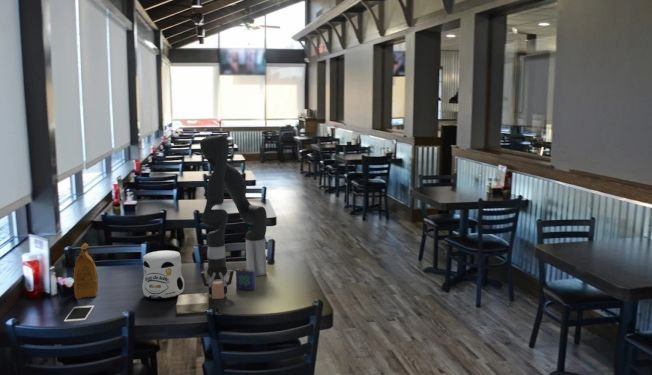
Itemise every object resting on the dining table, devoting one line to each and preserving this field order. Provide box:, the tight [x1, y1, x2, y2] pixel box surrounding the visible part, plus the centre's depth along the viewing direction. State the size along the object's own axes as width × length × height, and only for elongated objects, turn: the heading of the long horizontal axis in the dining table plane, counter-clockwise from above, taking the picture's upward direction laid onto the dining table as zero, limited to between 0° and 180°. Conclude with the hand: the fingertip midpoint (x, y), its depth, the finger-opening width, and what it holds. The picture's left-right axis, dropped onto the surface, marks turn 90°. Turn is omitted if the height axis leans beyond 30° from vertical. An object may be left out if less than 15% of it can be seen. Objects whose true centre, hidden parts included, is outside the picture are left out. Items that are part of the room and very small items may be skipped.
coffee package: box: [73, 242, 99, 300], centre depth 250 cm, size 10×12×22 cm
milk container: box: [141, 250, 185, 300], centre depth 249 cm, size 17×17×18 cm
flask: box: [235, 265, 257, 292], centre depth 256 cm, size 9×3×11 cm, turn 74°
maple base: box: [176, 292, 209, 315], centre depth 235 cm, size 12×12×4 cm
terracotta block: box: [211, 280, 225, 300], centre depth 248 cm, size 5×5×6 cm
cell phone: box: [63, 305, 95, 323], centre depth 230 cm, size 8×16×1 cm, turn 9°
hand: (218, 294), depth 248 cm, fingers closed on terracotta block, 5 cm apart
